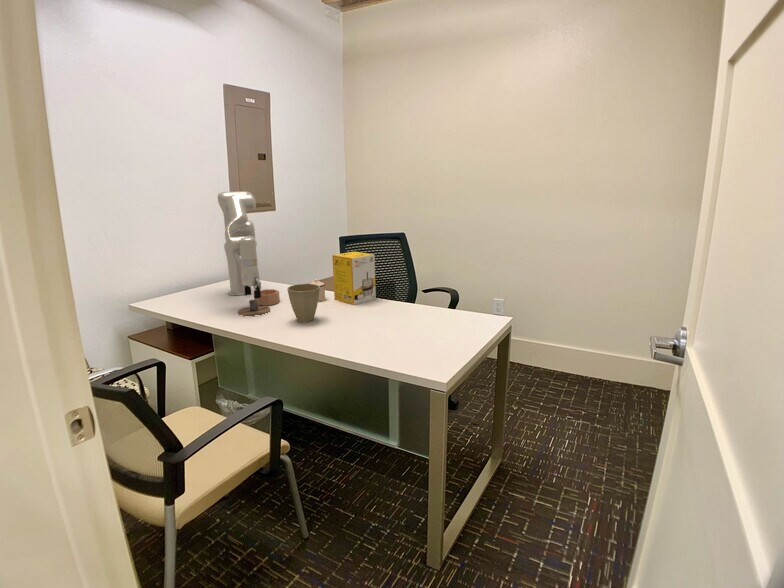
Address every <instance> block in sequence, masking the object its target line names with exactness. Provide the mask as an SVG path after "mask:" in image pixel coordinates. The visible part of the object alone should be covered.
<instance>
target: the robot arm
mask: <svg viewBox="0 0 784 588" xmlns="http://www.w3.org/2000/svg"><path fill="white" fill-rule="evenodd" d="M217 202H218V204H219V208H220V210H221V211H222V213H223V221H224V239H225V243H224V244H223V248H224V252H225V256H226V260H227V261H226V262H227V268H228V276H229V277H228V278H229V288H230V290H229V291H228V293H227V294H228V296H229V295H230V296H234V295H237V296H251V295H252V289H254V290H253V294H254V295H253V298H254V297H255V299H256V298H261V292H260V290H261V288H262V282H261V281H260V273H259V268H258V266H259V265H258V254H257V239H256V231H255V230H256V228H255V226H254V223H253V222H252V221H251V220H249V218H248V214H247V211H253V210H255V209H256V207H257V202H256V198H255V196H254V194H253V193H251V192H250V191H223V192H219V193H218V195H217ZM244 294H245V295H244Z"/></svg>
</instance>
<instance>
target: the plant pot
mask: <svg viewBox="0 0 784 588" xmlns="http://www.w3.org/2000/svg"><path fill="white" fill-rule="evenodd" d="M286 290H287V295H288V299H289V302H290V305H291V308H292V311H293V314H294V315H295V318H296V320H297V322H299V321H300V322H299V323H309V322H313V320H314V318H315V315H316V312H317V308H318V303H319V302H318V299H319V290H320V286H318V285H315V284H309V283H298V284H293V285H290V286H288V287H287V289H286Z"/></svg>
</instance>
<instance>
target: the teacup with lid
mask: <svg viewBox="0 0 784 588" xmlns="http://www.w3.org/2000/svg"><path fill="white" fill-rule="evenodd" d="M308 284H315V285H318V286H320V290H319V299H318V303H319V302H323V301H325V300H326V289H325V285H326V284H325V282H322V281H320V280H319V279H318V278H316V279H314V280H313V281H312V282H310V283H308Z"/></svg>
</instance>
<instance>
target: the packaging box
mask: <svg viewBox="0 0 784 588" xmlns="http://www.w3.org/2000/svg"><path fill="white" fill-rule="evenodd" d="M331 258H332V259H331V260H332V274H333V275H332V278H333V294H334V295H333V296H334V301H337V300H338V302H341V303H345V304H348V305H352V306H355V305H359V304H363V303H366V302H370V301H373V300H376V299H377V297H376V296H377V294H376V293H377V292H376V290H377V289H376V288H377V287H376V256H375V253H367V252H361V251H360V252H359V251H350V252H344V253H337V254H332V255H331Z"/></svg>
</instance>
